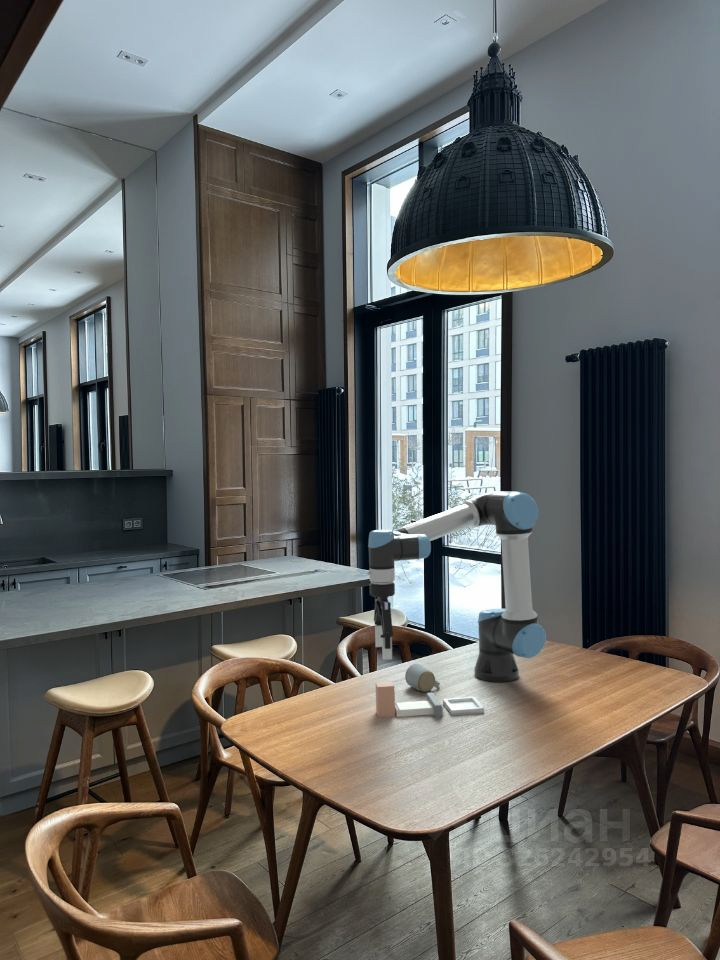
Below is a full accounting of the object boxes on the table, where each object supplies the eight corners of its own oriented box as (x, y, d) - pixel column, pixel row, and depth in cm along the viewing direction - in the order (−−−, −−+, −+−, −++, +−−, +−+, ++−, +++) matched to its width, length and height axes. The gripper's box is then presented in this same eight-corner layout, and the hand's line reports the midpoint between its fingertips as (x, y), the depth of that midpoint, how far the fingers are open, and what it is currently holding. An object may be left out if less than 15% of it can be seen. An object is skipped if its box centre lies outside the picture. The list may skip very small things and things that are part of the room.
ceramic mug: (418, 695, 221) (418, 671, 221) (404, 688, 228) (404, 665, 228) (445, 689, 226) (445, 666, 226) (430, 682, 233) (430, 660, 233)
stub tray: (474, 701, 214) (474, 696, 214) (484, 712, 204) (484, 707, 204) (443, 703, 213) (443, 698, 213) (451, 715, 203) (451, 710, 203)
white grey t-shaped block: (436, 703, 213) (436, 692, 213) (445, 716, 202) (445, 704, 202) (392, 706, 211) (391, 695, 211) (398, 720, 200) (398, 708, 200)
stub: (392, 711, 208) (392, 681, 207) (395, 715, 204) (394, 685, 203) (376, 712, 207) (375, 682, 207) (378, 717, 203) (377, 687, 203)
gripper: (364, 575, 216) (365, 642, 217) (375, 590, 191) (377, 665, 192) (387, 574, 217) (388, 641, 218) (402, 589, 192) (403, 664, 193)
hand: (383, 652), depth 205 cm, fingers open, 13 cm apart
